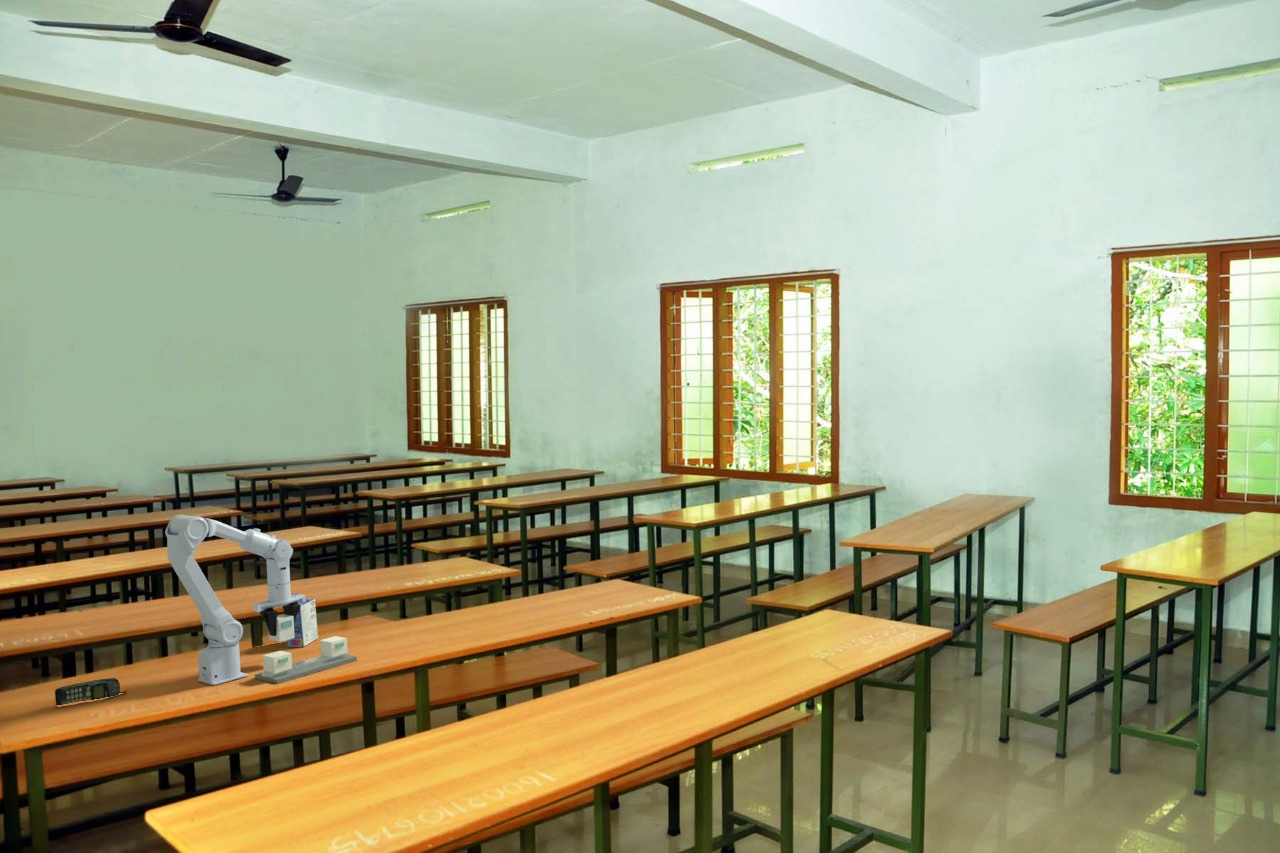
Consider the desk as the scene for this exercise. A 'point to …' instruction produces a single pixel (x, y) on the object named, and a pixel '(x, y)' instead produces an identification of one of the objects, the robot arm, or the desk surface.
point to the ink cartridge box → (305, 625)
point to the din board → (308, 670)
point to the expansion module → (284, 628)
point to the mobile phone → (87, 691)
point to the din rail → (304, 664)
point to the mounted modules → (284, 659)
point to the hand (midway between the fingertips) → (281, 633)
